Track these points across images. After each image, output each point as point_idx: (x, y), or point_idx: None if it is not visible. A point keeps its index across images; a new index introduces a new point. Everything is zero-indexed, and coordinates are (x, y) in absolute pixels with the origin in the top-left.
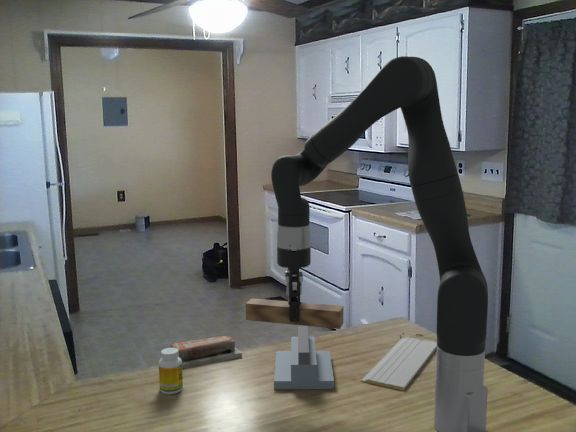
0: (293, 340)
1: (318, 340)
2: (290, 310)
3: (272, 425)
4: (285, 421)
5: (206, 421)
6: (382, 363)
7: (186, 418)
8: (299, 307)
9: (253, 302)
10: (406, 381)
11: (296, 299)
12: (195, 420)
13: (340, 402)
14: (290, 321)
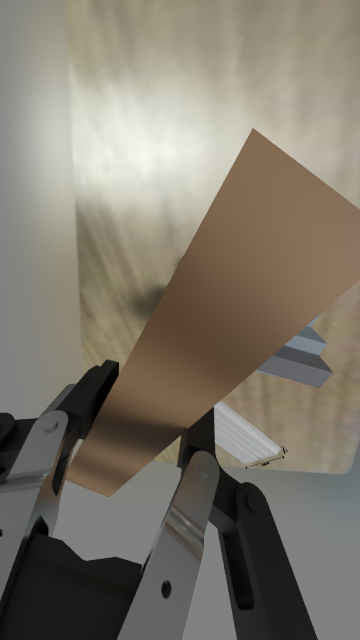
0: (301, 341)
1: (350, 378)
2: (81, 394)
3: (81, 230)
4: (92, 253)
5: (92, 87)
6: (215, 407)
7: (105, 17)
8: (98, 428)
9: (249, 236)
10: None
11: (179, 456)
12: (96, 51)
13: (137, 334)
14: (107, 360)
